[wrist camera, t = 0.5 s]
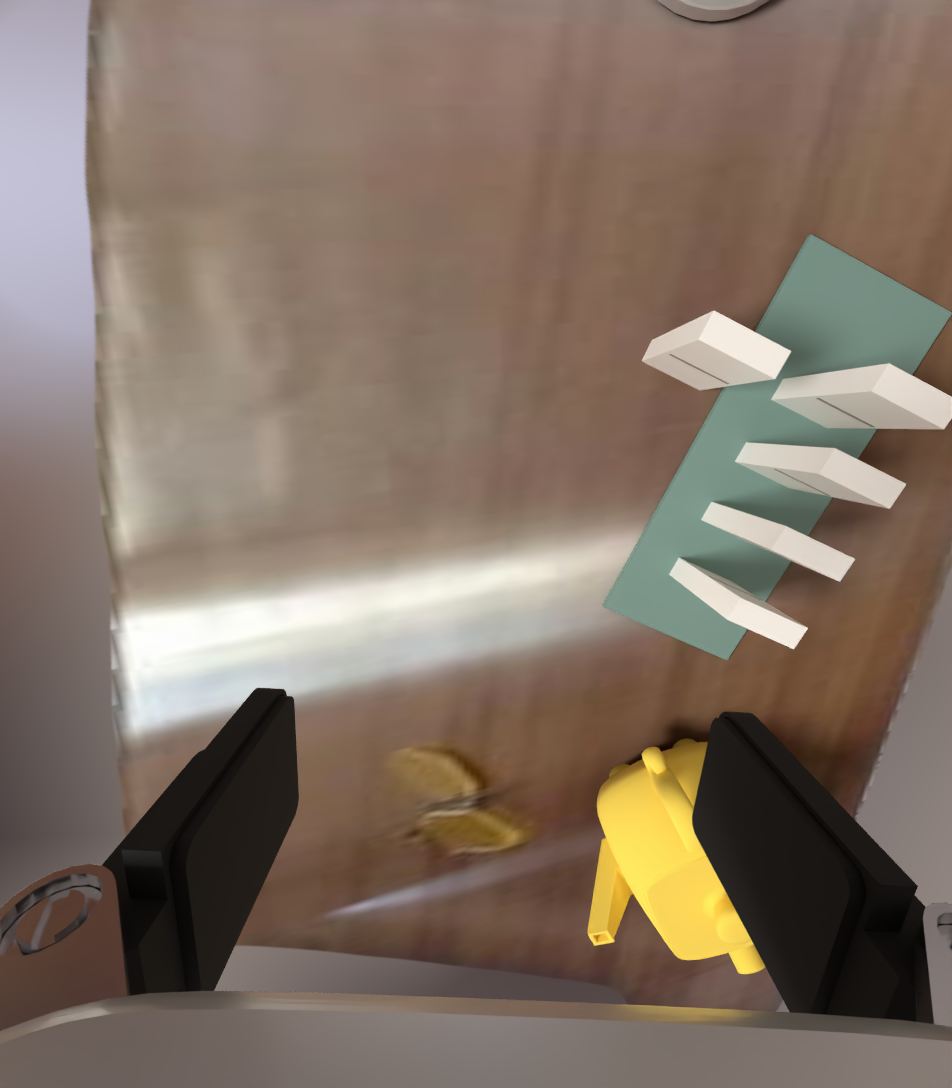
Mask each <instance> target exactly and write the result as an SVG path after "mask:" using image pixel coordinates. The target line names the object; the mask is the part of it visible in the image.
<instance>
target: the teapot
mask: <svg viewBox="0 0 952 1088" xmlns="http://www.w3.org/2000/svg"><path fill="white" fill-rule="evenodd" d="M707 744H708V742H698V743H697V742H696V741H695V740H693V739H687V738H686V739H681V740H679V741H678V742H676V743H675V744H674V746H673V748H672V749H668V750H665V751H662V752H661V751H660V749H659V748H658V747H648V748H646V749H645V750H644V751H643V753H642V758H643V759H642V760H640V761H638V762H636V763H634V764H632V765H628V764H619V765H617V766H615V767H614V768H612V770H611V771H610V773H609V779H607V780H606V781H605V782H604V783H603V784H602V786H601V787H600V790H599V794H598V798H597V811H598V816H599V819H600V822H601V825H602V828H603V830H604V833H605V836H606V838H604V839H602V841H601V848H600V854H599V861H598V867H597V874H596V880H595V887H594V893H593V900H592V906H591V913H590V919H589V926H588V936H589V937H590V939H591V940H592V942H593V944H594V945H595V946H596V945H601V944H606V943H611V942H614V936H615V934H616V931H617V929H618V926H619V924H620V921H621V918H622V916H623V913H624V911H625V908H626V906H627V903H628V901H629V898H630V895H632V894H634V895H635V897H636V899H637V900H638V902H639V903H640V905H641V906H642V908H643V910H644V911H645V913H646V914H647V916H648V917H649V919H650V920H651V922H652V923H653V925H654V926H655V927H656V929H657V930H658V932H659V933H660V935H661V936H662V938H663V939H664V941H665V942H666V944H667V945H668V946H669V948H670V949H671V950H672V952H673V953H674V954H675V955H676V956H677V957H678V958H680V959H683V960H698V959H704V958H709V957H713V956H717V955H721V954H725V953H729V954H730V956H731V958H732V961H733V963H734V965H735V967H736V969H737V971H738V972H739V973H741V974H750V973H754V972H757V971H760V970H762V969H763V968H765V965H764V963H763V961H762V959H761V957H760V955H759V953H758V952H757V950H756V948H755V946H754V944H753V942H752V940H751V938H750V936H749V935H748V933H747V931H746V929H745V927H744V925H743V923H742V921H741V920H740V918H739V916H738V914H737V912H736V910H735V908H734V906H733V905H732V903H731V901H730V899H729V897H728V895H727V893H726V891H725V890H724V888H723V886H722V884H721V882H720V880H719V878H718V876H717V875H716V873H715V871H714V869H713V867H712V865H711V863H710V861H709V860H708V858H707V856H706V854H705V852H704V850H703V848H702V846H701V845H700V843H699V841H698V839H697V837H696V835H695V833H694V829H693V825H692V814H693V809H694V804H695V800H696V795H697V790H698V786H699V781H700V776H701V772H702V767H703V762H704V758H705V753H706V748H707Z"/></svg>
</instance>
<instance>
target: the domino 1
mask: <svg viewBox="0 0 952 1088" xmlns="http://www.w3.org/2000/svg"><path fill="white" fill-rule="evenodd" d="M790 353H791V351H790V350H788V349H786V348H784V347H782V346H781V345H779V344H777V343H775V342H773V341H771V340H769V339H767V338H765V337H763V336H761V335H760V334H758V333H756V332H754V331H752V330H750V329H748V328H746V327H744V326H742V325H740V324H739V323H737V322H735V321H733V320H731V319H729V318H727V317H725V316H723V315H721V314H719V313H718V312H716V311H712V312H710V313H708V314H705V315H703V316H701V317H699V318H697V319H695V320H693V321H691V322H689V323H687V324H685V325H682V326H680V327H678V328H676V329H674V330H672V331H670V332H668V333H666V334H664V335H661V336H659V337H657V338H655V339H653V340H652V341H651V343H650V345H649V347H648V349H647V351H646V353H645V355H644V357H643V359H642V362H644V363H646V364H648V365H650V366H652V367H654V368H656V369H658V370H660V371H662V372H664V373H666V374H668V375H670V376H672V377H674V378H676V379H678V380H680V381H682V382H684V383H686V384H688V385H690V386H692V387H694V388H696V389H698V390H706V389H713V388H719V387H726V386H733V385H739V384H746V383H753V382H759V381H766V380H773V379H776V377H777V375H778V374H779V372H780V370H781V368H782V367H783V365H784V363H785V361H786V360H787V358H788V356H789V355H790Z"/></svg>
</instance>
